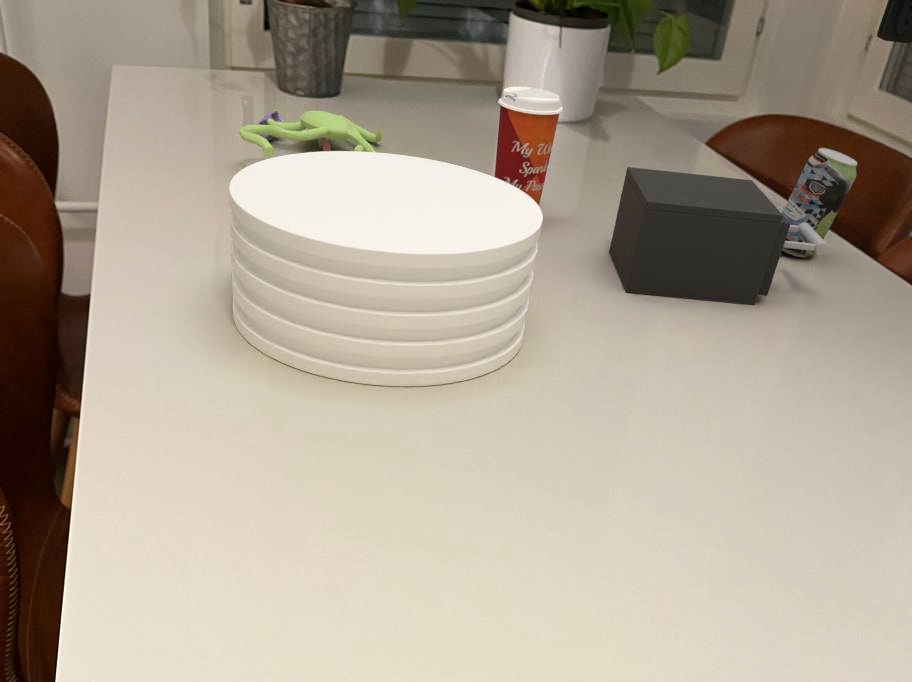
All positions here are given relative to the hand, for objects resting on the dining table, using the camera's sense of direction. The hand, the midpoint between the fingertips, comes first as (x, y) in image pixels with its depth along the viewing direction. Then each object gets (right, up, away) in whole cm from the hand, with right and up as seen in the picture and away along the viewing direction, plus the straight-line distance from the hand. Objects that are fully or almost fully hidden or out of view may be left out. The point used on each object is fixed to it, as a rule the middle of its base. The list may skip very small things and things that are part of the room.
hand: (893, 40), depth 100 cm
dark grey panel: (-14, -19, +13) cm, 27 cm away
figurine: (-63, +4, +35) cm, 72 cm away
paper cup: (-37, -8, +24) cm, 45 cm away
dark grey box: (-18, -19, +13) cm, 30 cm away
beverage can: (-1, -12, +25) cm, 28 cm away
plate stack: (-52, -30, -4) cm, 60 cm away
